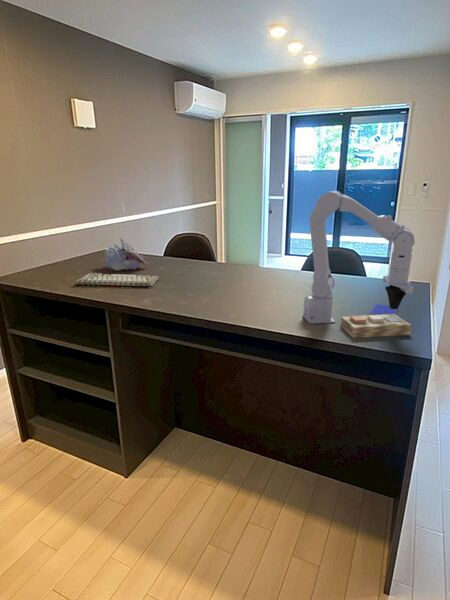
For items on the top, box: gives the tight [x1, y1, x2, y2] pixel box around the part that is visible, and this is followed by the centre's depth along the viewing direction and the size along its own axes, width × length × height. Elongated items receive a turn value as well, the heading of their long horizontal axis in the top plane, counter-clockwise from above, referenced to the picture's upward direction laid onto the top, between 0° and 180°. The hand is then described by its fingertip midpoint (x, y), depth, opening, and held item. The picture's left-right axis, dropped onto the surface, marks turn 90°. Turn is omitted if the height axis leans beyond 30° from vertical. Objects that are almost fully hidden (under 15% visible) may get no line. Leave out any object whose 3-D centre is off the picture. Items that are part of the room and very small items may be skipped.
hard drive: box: [368, 304, 399, 315], centre depth 144 cm, size 2×8×12 cm
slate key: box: [384, 317, 401, 322], centre depth 128 cm, size 4×4×2 cm
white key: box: [367, 314, 384, 323], centre depth 127 cm, size 4×4×2 cm
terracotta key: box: [350, 315, 366, 324], centre depth 126 cm, size 4×4×2 cm
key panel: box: [340, 314, 412, 339], centre depth 127 cm, size 19×10×4 cm, turn 97°
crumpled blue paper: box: [104, 237, 148, 272], centre depth 211 cm, size 20×22×18 cm
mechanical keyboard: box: [73, 272, 160, 289], centre depth 185 cm, size 38×19×3 cm, turn 86°
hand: (393, 308), depth 126 cm, fingers closed
